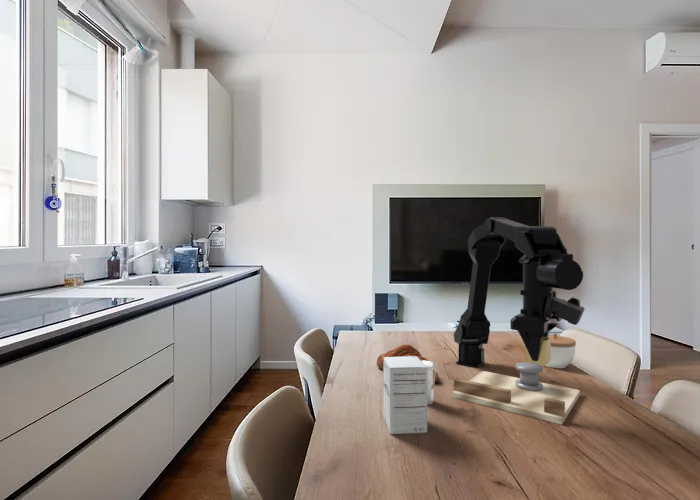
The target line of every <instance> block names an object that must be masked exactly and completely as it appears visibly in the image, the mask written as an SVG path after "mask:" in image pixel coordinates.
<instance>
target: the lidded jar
mask: <svg viewBox="0 0 700 500" xmlns="http://www.w3.org/2000/svg"><path fill="white" fill-rule="evenodd" d="M548 337H551V361H550V362H549V363H548V364H547V365H544V366H545V367H547V368H548V367H549V368H553V369H566V368H567V366H569V365H570V364H571V363H572V362H573V360H574V358H575V355H576V354H575V353H576V345H577V341H576V340H575V339H574V338H571V337H567V336H560V335H558V334H557V332H554V333H552V335H550V334H549V335H548Z"/></svg>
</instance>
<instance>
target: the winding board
mask: <svg viewBox="0 0 700 500" xmlns="http://www.w3.org/2000/svg"><path fill="white" fill-rule="evenodd" d="M519 379H520V377H515V376H511V375H506V374H502V373H501V374H499V373H495V372H490V371H486V370H482V371H481V372H479V373H477V375H475V376H474V377H472V378H471V379H469V380H466V379H462V378H458V377H457V378H455V379H453V391H452V392H451V398H455V399H458V400H462V401H466V402H470V403H473V404H477V405H481V406H484V407H485V406H486V407H489V408H493V409H497V410H502V411H506V412H510V413H513V414H517V415H521V416H525V417H528V418H533V419H537V420H542V421H545V422H549V423H553V424H557V425H561V426H562V425H563V424H564V422H565V421H566V420H567V417H568V416H569V414H570V412H571V411H572V409H573V408H574V406H575V404H576V402H577V401H578V399H579V398H580V395H581V390H580V389H576V388H570V387H565V386H562V385H556V384H550V383H547V382H546V383H545V382H540V381H539V382H540V383H542V384H543V389H542V390H540V391H528V390H523V389H520V388H518V387H516V380H519Z"/></svg>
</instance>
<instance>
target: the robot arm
mask: <svg viewBox="0 0 700 500" xmlns="http://www.w3.org/2000/svg"><path fill="white" fill-rule="evenodd" d="M557 231H558V230H557V229H556V227H553V226H549V225H548V226H543V225H542V226H539V225H538V226H536V225H535V226H534V225H533V226H531V225H526V224H524V223H520V222H517V221H515V220H511V219H509V218H507V217H504V216H503V217H501V216H500V217H499V216H498V217H497V216H496V217H495V216H494V217H493V216H491V217H488V218H486V220H485V221H484V222H483V223H482V224H481V225H479V226H477V227H476V228H474V229H473V230H472V232H471V233H470V235H469V237H468V239H467V247H468V251H467V252H468V254H469V256H470V258H471V261H472V269H471V276H470V284H469V285H470V286H469V290H468V291H469V292H468V293H469V294H468V301H467V308H466V310H465V311H464V312H463V313H462V314H461V315H460V319H459V323H458V325H457V326H456V328H455V330H454V333H453V340H454V342H455V343H456V344H458V360H457V361H455V362H456V364H458V365H463V366H468V367H473V368H478V367H480V366H482V365H483V364H485V362H486V361H485V348H483V347H484V346H483V345H488V342H489V337H490V332H491V330H490V329H491V328H490V327H491V322H490V320H489V319H488V316H487V315H486V306H487V305H486V304H487V300H488V299H487V296H488V291H489V283H490V277H491V276H490V275H491V269H492V268H491V267H492V265H493V264H494V263H495V261H496V260H498V258H499V256H500V252H501V249H502V247H503V246H504V245H505V243H506V242H507V240H508V241H511V242H513V243H515V244H514V247H515V248H516V249H518V250H519V251H520V252H521V253H523V256H521V257H520V258H519V259H518V263H519V264H522V289H520V291H519V292H520V296H522V308H521V309H519V311H520V313H518V314H516V315H514V316H513V317H512V318H511V319H510V330H512V331H517V332H518V334H519V336H520V338H521V340H522V342H523V344H524V346H525V349H526V348H527V350H528V353H529V355H530V357H531V359H532V360H533V361H538V359H539V354H540V348H541V343H542V337H548V335H550V331H552V330H553V329H554V328H556V327H557V326H558V325H559V324H558V323H556V322H561V321H562V320H564V321H566V322H568V323H569V324H571V325H575V326H577V325H578V324H579V323H580V321H581V319H582V316H583V314H584V312H585V308H584V306H582V305H581V300H580V299H578V298H576V297H574V296H572V297H570V298H569V299H568V300H566V299H562V298H559V297H557V291H556V290H555V289H558V290H559V289H560V290H565V291H571V290H575V289H577V288H578V287H579V286H580V285H581V284H582V282H583V279H584V271H583V270H582V267H581V265H580V264H579V263H578V262H576V261H575V260H574V254H572V253H568V250H567V249H568V248H566V247H565V245H564V243H563V242H562V239H561V237H560V235H559V233H558V232H557ZM552 320H555V321H556V322H555V323H554V322H551V321H552Z"/></svg>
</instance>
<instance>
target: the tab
mask: <svg viewBox="0 0 700 500" xmlns="http://www.w3.org/2000/svg"><path fill="white" fill-rule="evenodd" d="M550 361H551V337H542V343H541V348H540V354H539V359H538V361H533V360H532V359H531V357H530V355H529V353H528V350H527V348H526V347H525V362H528V363H535V364H538V365H541V366H542V365H543V366H545V365H547V364H548V363H549V362H550Z"/></svg>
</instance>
